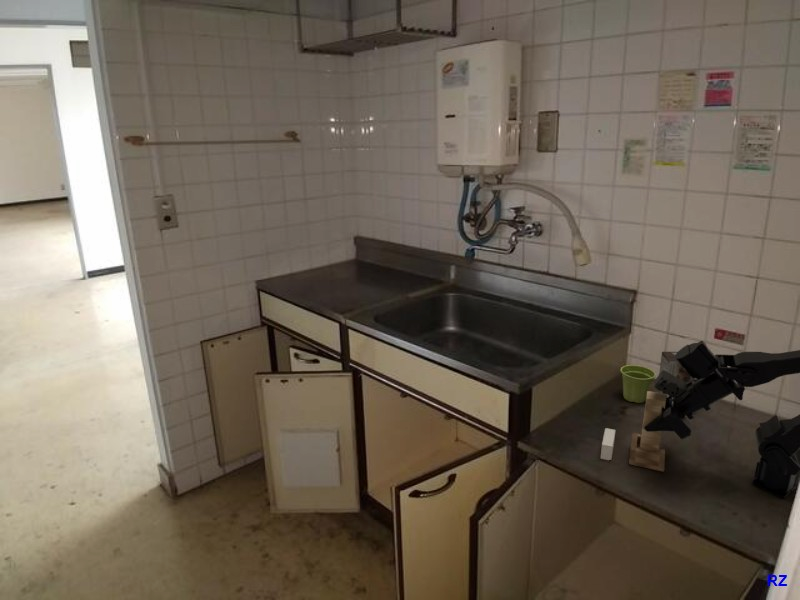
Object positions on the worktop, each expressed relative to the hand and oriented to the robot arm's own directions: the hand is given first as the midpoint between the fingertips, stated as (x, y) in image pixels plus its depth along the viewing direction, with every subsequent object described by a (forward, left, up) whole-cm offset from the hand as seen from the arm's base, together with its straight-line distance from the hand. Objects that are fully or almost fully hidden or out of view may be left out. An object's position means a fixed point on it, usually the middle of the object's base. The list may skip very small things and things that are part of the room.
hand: (645, 425), depth 131 cm
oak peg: (-1, -1, -7) cm, 7 cm away
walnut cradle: (-1, -1, -9) cm, 9 cm away
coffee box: (+8, -30, -9) cm, 32 cm away
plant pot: (+18, -26, -9) cm, 33 cm away
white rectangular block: (+7, +4, -9) cm, 12 cm away
